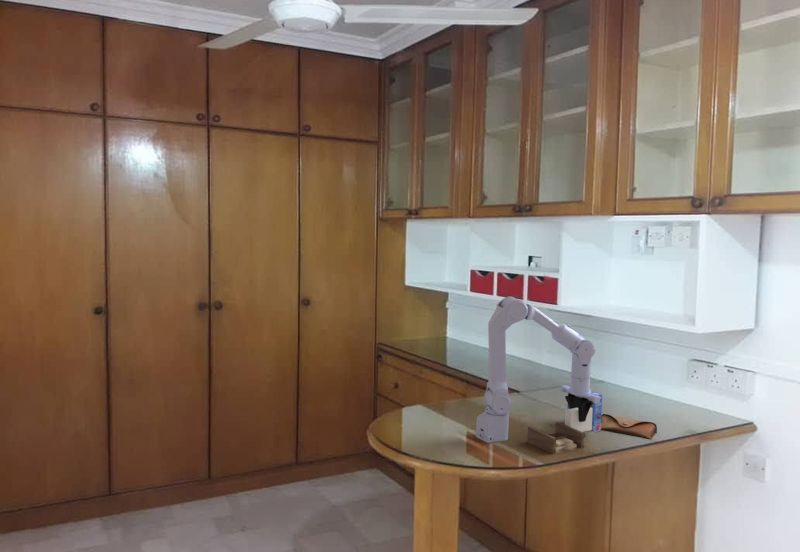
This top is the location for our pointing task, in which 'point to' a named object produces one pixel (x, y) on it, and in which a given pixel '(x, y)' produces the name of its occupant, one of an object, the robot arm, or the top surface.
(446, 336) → the top surface
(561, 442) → the offcut upper
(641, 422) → the sunglasses case
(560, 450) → the offcut lower
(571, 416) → the board
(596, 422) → the ink cartridge box
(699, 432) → the top surface
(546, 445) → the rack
